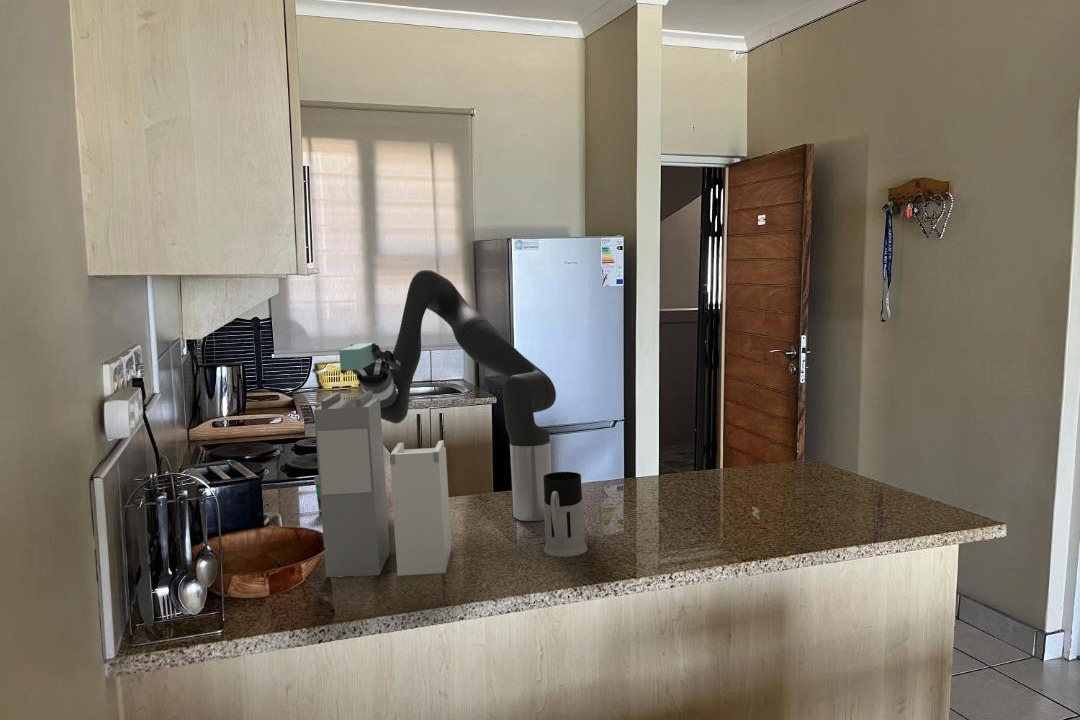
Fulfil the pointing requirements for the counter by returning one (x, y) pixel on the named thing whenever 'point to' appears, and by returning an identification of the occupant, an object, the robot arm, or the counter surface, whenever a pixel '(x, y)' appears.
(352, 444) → the tall grey pillar
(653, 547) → the counter surface
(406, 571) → the white open box
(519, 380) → the robot arm
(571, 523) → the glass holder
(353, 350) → the teal square bar
